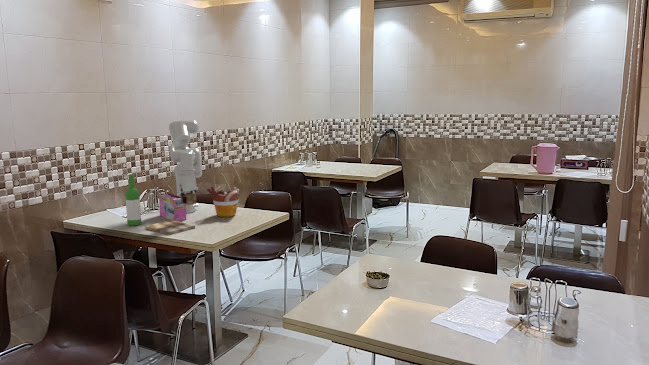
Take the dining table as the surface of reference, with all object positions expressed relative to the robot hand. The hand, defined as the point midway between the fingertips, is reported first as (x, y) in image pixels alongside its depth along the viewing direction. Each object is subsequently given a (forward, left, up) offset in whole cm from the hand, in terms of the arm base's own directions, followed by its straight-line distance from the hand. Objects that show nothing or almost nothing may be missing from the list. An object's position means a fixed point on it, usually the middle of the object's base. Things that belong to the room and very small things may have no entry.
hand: (188, 201), depth 303 cm
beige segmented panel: (+16, -1, -12) cm, 20 cm away
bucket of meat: (-25, +5, -13) cm, 28 cm away
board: (+16, +10, -12) cm, 23 cm away
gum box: (-1, -18, -13) cm, 22 cm away
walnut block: (0, 0, -1) cm, 1 cm away
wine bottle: (+23, -21, -13) cm, 34 cm away
